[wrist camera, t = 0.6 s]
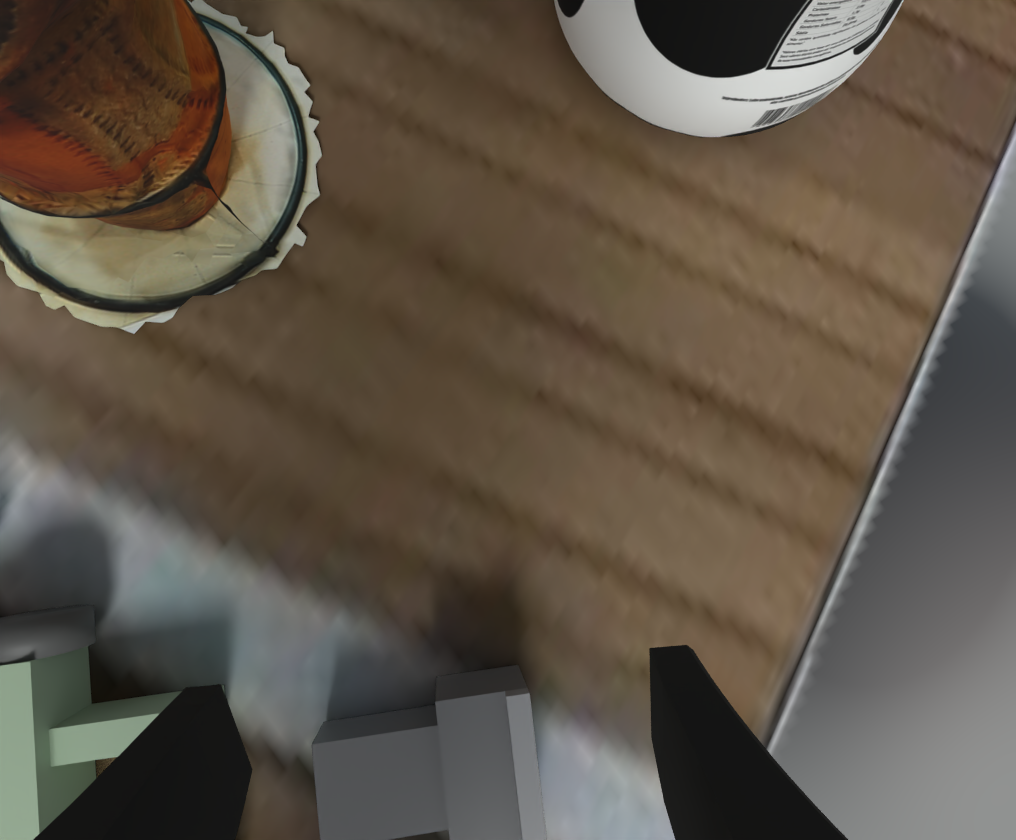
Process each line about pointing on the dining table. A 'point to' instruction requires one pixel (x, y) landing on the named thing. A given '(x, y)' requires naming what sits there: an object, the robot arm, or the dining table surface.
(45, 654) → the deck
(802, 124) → the dining table surface
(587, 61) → the milk container
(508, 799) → the grey stepped block
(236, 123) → the decorative vase
